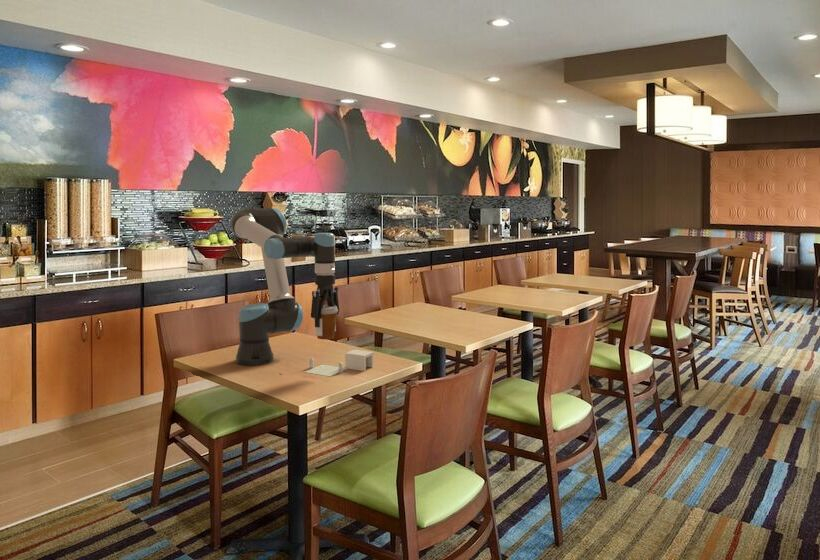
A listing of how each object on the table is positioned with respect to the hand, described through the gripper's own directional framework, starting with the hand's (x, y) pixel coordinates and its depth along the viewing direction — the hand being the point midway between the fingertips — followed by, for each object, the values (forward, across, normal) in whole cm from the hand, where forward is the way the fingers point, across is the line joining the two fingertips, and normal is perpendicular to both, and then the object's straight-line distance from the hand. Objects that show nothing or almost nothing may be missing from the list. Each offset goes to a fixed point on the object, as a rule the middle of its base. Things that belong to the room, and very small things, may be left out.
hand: (325, 333), depth 240 cm
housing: (+15, +10, -10) cm, 20 cm away
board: (+16, +4, -3) cm, 17 cm away
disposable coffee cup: (+2, 0, 0) cm, 2 cm away
